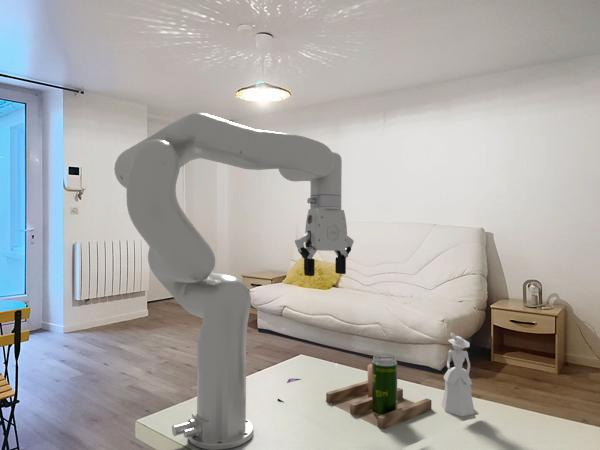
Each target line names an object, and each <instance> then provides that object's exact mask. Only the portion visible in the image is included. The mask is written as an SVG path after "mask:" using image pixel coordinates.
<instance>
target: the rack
mask: <svg viewBox="0 0 600 450" xmlns="http://www.w3.org/2000/svg"><path fill="white" fill-rule="evenodd" d="M325 395H326V398H325V402H326V403H328V404H330V405H332V406H335V407H336V408H339V409H341V410H343V411H344V412H347V413H348V414H351V415H353V416H355V417H357V418H359V419H361V420H363V421H365V422H367V423H369V424H371V425H373V426H374V427H377V428H379V429H382V430H383V431H384V430H387V429H389V428H392V427H394V426H396V425H398V424H401V423H405V422H407V421H409V420H412V419H414V418H417V417H419V416H421V415H424V414H427V413H429V412H432V411H433V409H432V400H431V399H430V398H425V399H421V400H419V401H416V402H414V401H412V400H409V399H407V398H404V389H403V388H400V387H397V410H394V411H391V412H389V413H386V414H383V415H381V416H376V415H374V413H373V410H372V397H368V380H364V381H362V382H358V383H355V384H351V385H348V386H345V387H342V388H338V389H335V390H330V391H328V392H326V393H325Z"/></svg>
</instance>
